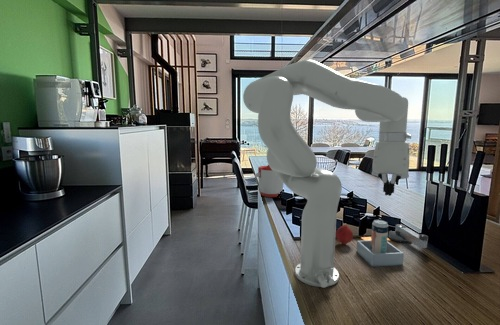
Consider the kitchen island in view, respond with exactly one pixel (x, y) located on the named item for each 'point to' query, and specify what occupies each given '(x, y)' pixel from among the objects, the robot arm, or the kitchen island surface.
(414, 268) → the kitchen island surface
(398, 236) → the crank base
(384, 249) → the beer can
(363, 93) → the robot arm
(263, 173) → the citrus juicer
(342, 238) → the onion
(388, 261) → the tray
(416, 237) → the crank arm
